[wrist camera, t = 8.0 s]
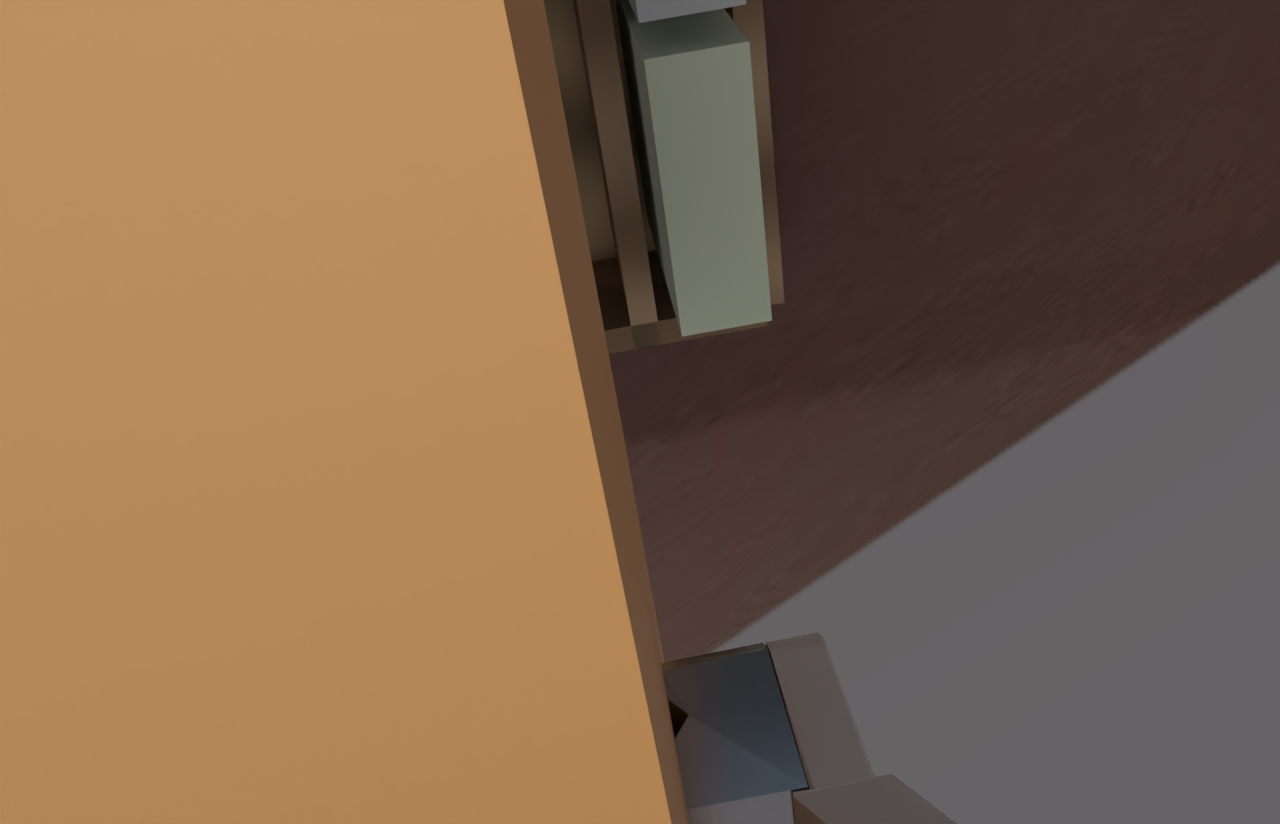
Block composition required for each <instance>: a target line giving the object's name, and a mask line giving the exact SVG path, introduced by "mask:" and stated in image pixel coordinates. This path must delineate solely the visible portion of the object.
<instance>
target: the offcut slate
mask: <svg viewBox="0 0 1280 824" xmlns="http://www.w3.org/2000/svg"><path fill="white" fill-rule="evenodd" d="M629 2H630V5H631V7H632V9H633V11H634V14H635V16H636V18H637V20H638V22H639V23H643V22H648V21H654V20H660V19H666V18H671V17H677V16H683V15H689V14H694V13H700V12H706V11H711V10H717V9H723V8H729V7H734V6H740V5H746V0H629Z"/></svg>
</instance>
